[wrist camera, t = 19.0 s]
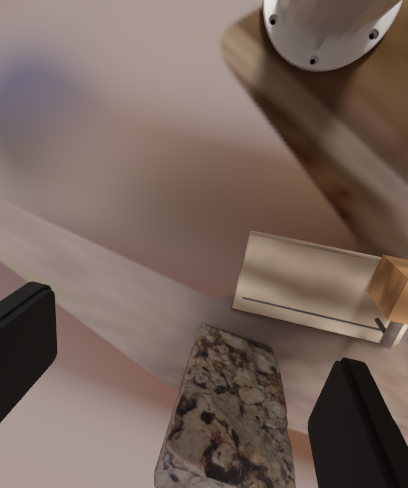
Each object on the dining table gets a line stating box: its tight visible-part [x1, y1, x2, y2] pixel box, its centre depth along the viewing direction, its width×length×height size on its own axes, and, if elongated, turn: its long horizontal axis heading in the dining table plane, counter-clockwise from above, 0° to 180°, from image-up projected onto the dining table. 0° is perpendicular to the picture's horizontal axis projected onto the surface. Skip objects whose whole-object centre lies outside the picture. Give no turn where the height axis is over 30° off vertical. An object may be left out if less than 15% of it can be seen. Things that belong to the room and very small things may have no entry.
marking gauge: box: [366, 255, 408, 348], centre depth 32 cm, size 9×4×6 cm, turn 170°
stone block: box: [154, 324, 295, 488], centre depth 35 cm, size 13×7×20 cm, turn 77°
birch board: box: [232, 230, 408, 347], centre depth 37 cm, size 11×22×2 cm, turn 80°
